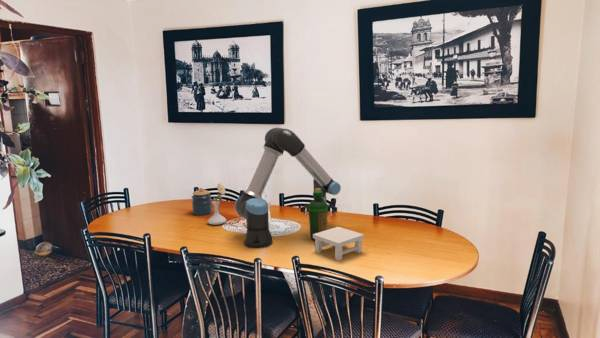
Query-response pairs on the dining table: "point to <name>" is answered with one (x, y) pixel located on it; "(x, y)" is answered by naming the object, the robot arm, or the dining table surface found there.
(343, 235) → the stool
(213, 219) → the flower in vase
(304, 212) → the robot arm
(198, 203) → the canister
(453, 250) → the dining table surface
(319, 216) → the bottle
